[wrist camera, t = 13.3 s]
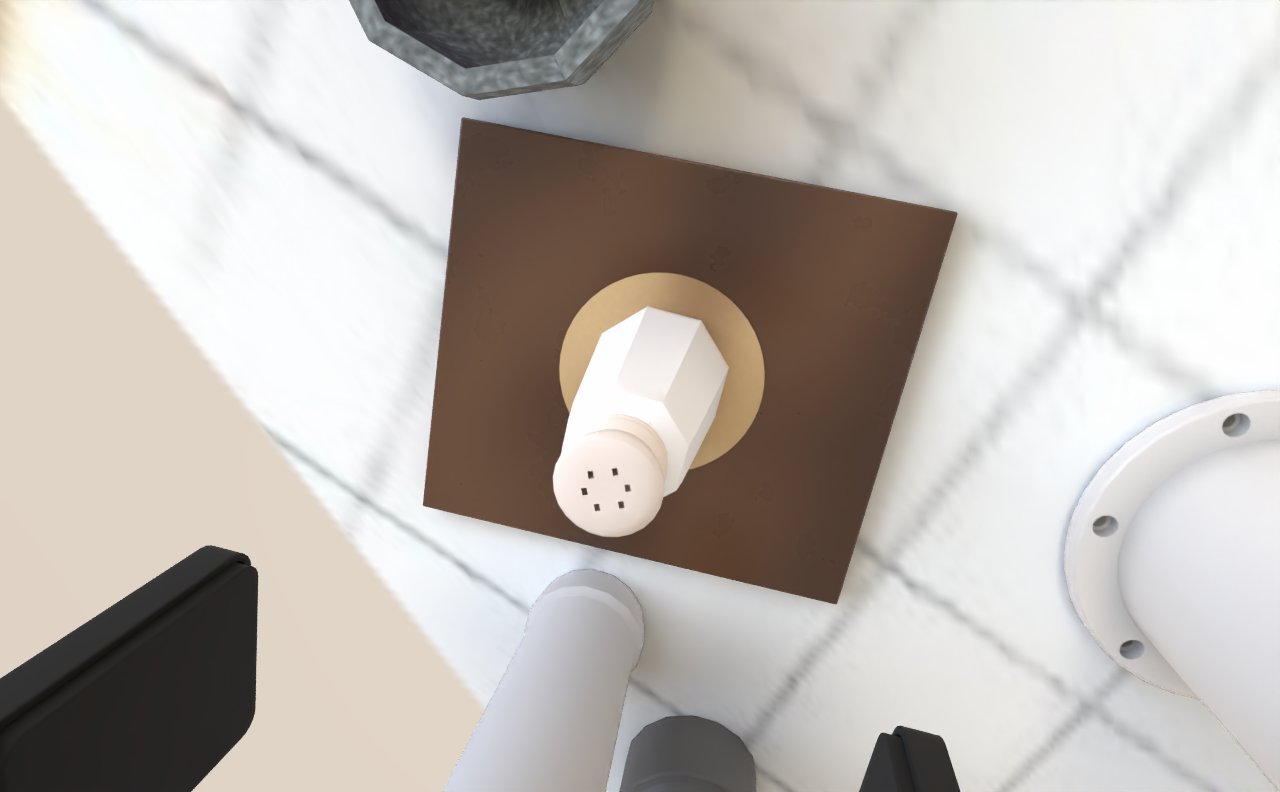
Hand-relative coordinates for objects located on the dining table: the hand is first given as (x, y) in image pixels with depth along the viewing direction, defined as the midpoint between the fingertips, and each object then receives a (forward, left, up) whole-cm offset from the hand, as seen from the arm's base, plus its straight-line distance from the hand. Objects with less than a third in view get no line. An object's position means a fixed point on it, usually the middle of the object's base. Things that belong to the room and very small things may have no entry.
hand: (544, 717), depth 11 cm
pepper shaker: (+1, 0, -19) cm, 19 cm away
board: (+1, 0, -20) cm, 20 cm away
